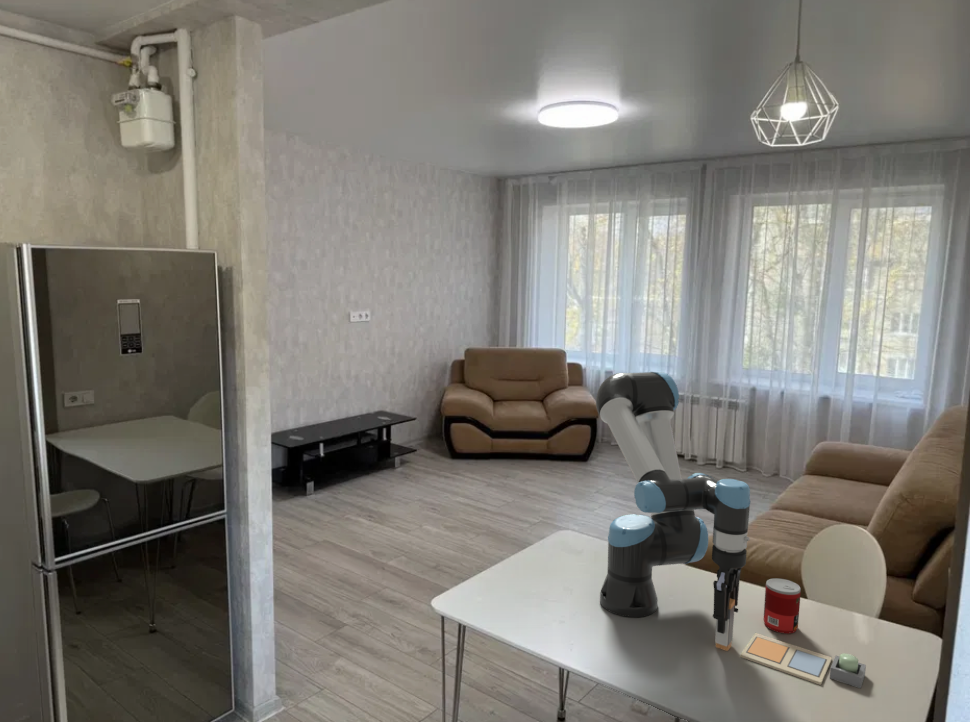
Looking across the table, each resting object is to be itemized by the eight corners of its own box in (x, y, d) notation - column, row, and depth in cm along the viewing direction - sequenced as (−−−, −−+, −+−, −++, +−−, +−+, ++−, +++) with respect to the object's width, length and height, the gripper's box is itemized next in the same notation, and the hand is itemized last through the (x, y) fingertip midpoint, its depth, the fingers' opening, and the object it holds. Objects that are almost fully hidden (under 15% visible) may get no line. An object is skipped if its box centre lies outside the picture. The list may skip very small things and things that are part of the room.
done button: (837, 670, 145) (838, 658, 145) (840, 662, 148) (841, 651, 147) (855, 676, 143) (856, 664, 142) (858, 668, 146) (859, 657, 145)
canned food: (801, 636, 162) (804, 593, 160) (766, 632, 164) (769, 590, 162) (793, 620, 169) (796, 579, 168) (760, 616, 171) (763, 576, 170)
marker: (714, 647, 157) (717, 600, 155) (719, 641, 159) (721, 595, 158) (728, 651, 155) (730, 604, 153) (732, 645, 157) (734, 599, 156)
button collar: (829, 678, 145) (830, 667, 145) (834, 665, 150) (835, 655, 149) (860, 688, 141) (861, 677, 141) (864, 675, 146) (865, 664, 146)
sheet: (740, 656, 153) (740, 654, 153) (755, 635, 162) (755, 632, 162) (820, 685, 142) (821, 681, 142) (831, 659, 152) (831, 657, 152)
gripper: (735, 562, 145) (729, 661, 148) (756, 539, 158) (750, 631, 161) (701, 553, 150) (696, 649, 153) (724, 532, 162) (719, 621, 165)
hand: (723, 640), depth 157 cm, fingers closed on marker, 3 cm apart
